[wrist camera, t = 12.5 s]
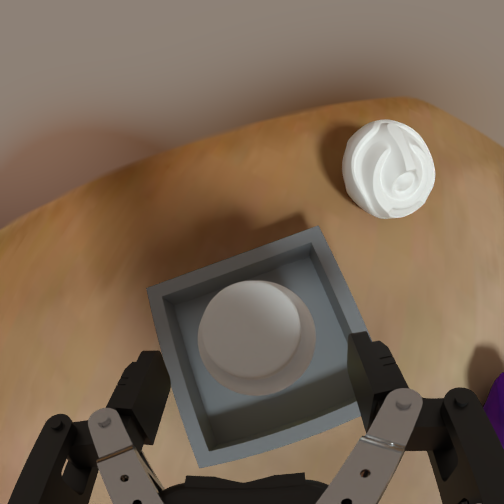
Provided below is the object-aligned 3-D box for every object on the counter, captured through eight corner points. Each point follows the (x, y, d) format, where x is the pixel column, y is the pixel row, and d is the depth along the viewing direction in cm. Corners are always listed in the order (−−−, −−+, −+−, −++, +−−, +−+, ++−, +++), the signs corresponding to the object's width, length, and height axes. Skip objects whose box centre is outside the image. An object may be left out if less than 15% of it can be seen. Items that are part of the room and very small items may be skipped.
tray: (212, 457, 19) (199, 468, 16) (163, 301, 25) (146, 288, 22) (380, 397, 20) (395, 398, 17) (315, 246, 25) (318, 225, 22)
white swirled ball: (353, 242, 25) (374, 187, 18) (322, 172, 28) (329, 109, 21) (430, 220, 25) (465, 168, 18) (395, 157, 28) (414, 99, 21)
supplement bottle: (212, 367, 21) (155, 349, 12) (252, 302, 23) (226, 239, 14) (281, 406, 20) (275, 424, 10) (321, 338, 21) (345, 298, 12)
